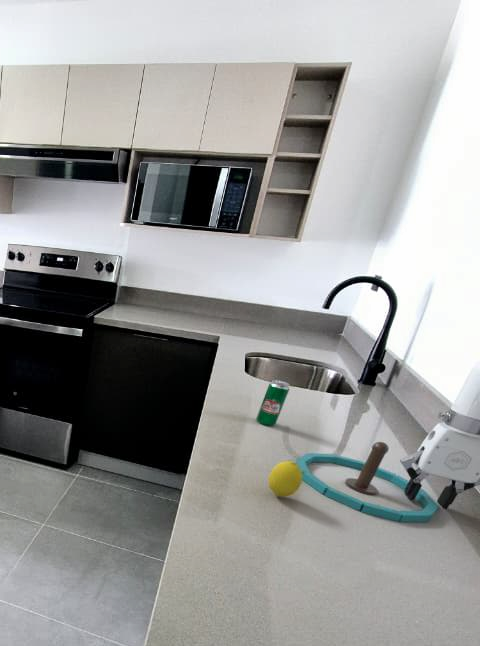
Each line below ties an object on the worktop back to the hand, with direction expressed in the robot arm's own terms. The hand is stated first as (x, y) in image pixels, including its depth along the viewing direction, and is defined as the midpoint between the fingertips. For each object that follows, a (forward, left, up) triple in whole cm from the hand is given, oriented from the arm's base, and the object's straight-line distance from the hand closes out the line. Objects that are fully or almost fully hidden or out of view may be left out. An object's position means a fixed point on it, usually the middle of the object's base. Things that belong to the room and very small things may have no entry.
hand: (425, 500), depth 106 cm
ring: (+12, 0, -1) cm, 12 cm away
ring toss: (+12, 0, -1) cm, 12 cm away
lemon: (+31, +16, -1) cm, 35 cm away
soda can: (+28, -30, -1) cm, 41 cm away
